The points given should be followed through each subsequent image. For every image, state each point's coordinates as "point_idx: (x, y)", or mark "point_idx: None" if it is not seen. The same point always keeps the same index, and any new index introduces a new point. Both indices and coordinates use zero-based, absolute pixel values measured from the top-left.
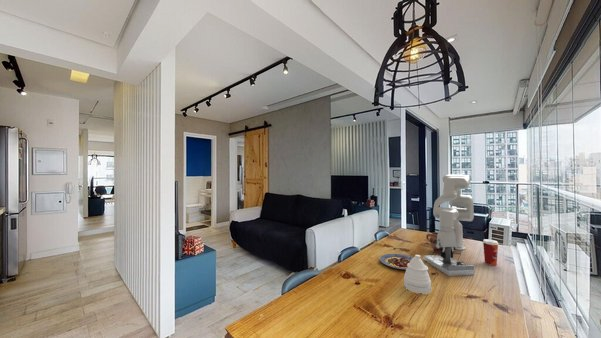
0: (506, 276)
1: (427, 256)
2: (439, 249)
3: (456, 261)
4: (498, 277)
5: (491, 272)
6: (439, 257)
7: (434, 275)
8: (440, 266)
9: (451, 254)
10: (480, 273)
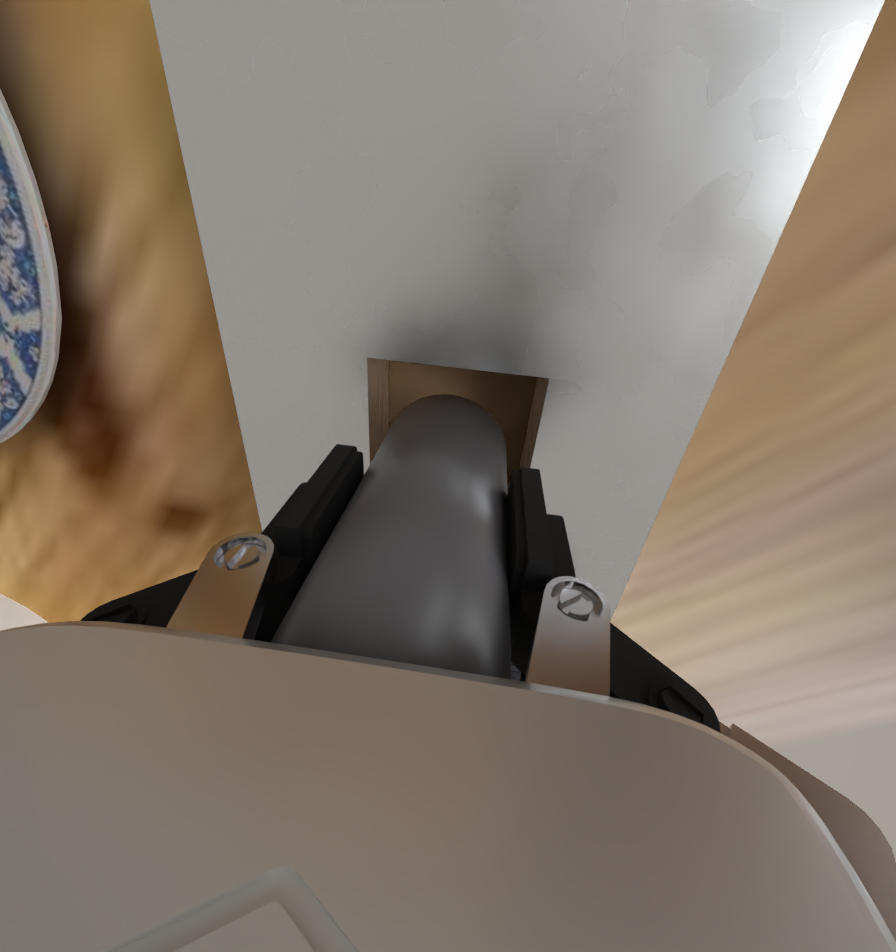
0: (841, 708)
1: (221, 45)
2: (169, 593)
3: (638, 465)
4: (738, 699)
5: (826, 639)
6: (489, 196)
7: (176, 548)
8: (264, 522)
9: None
10: (675, 624)
